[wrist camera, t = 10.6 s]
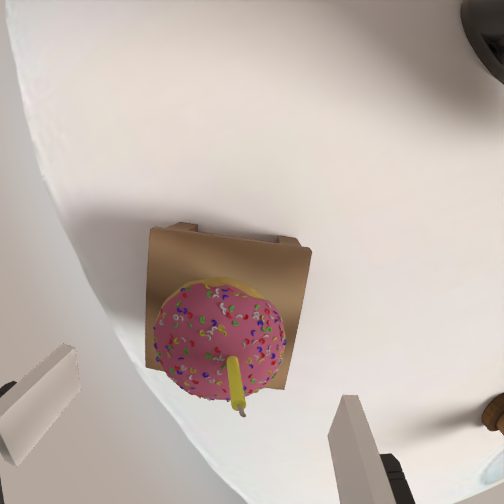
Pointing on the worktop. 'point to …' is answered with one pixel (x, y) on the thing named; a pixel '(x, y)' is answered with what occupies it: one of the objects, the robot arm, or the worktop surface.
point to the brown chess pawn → (495, 415)
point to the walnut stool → (230, 266)
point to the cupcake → (219, 340)
